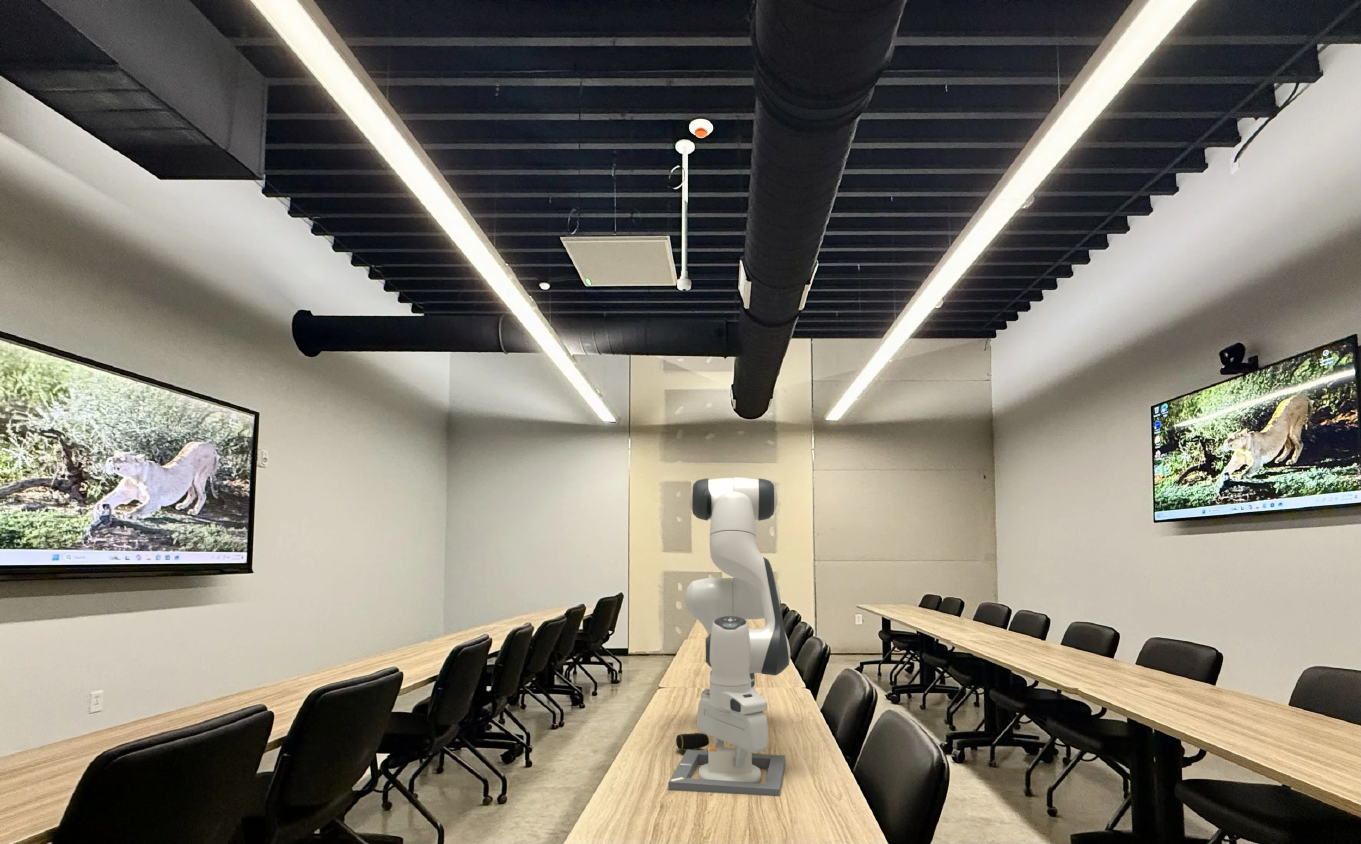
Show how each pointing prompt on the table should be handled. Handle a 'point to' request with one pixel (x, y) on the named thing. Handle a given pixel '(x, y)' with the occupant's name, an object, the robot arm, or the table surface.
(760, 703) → the robot arm
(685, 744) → the tape measure
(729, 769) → the dial knob
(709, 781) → the grey square frame
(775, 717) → the table surface
